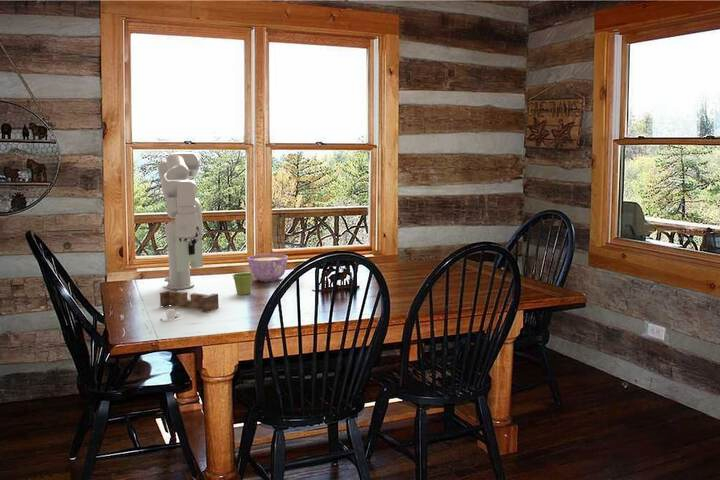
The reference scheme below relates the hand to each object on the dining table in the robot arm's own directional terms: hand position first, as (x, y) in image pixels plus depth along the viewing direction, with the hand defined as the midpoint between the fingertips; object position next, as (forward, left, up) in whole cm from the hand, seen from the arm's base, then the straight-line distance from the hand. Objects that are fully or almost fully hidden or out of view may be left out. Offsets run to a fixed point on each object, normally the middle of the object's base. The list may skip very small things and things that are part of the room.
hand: (189, 253), depth 290 cm
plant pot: (+7, +27, -22) cm, 36 cm away
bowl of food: (0, +57, -22) cm, 61 cm away
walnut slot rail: (+2, -4, -22) cm, 22 cm away
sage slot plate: (0, 0, -6) cm, 6 cm away
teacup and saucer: (+10, -20, -23) cm, 32 cm away
